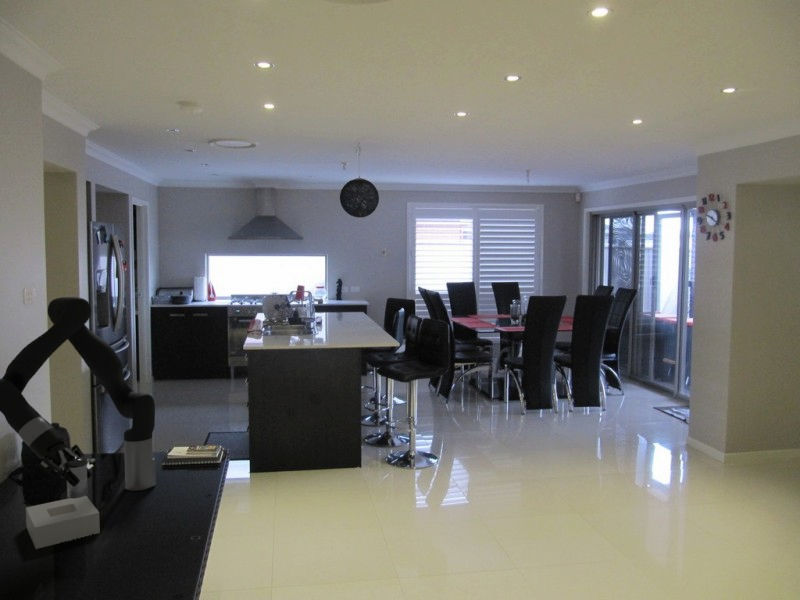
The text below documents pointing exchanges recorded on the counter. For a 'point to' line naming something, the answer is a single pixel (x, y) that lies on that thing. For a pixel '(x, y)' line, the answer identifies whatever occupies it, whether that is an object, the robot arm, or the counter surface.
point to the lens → (80, 471)
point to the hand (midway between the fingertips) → (83, 480)
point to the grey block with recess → (62, 521)
